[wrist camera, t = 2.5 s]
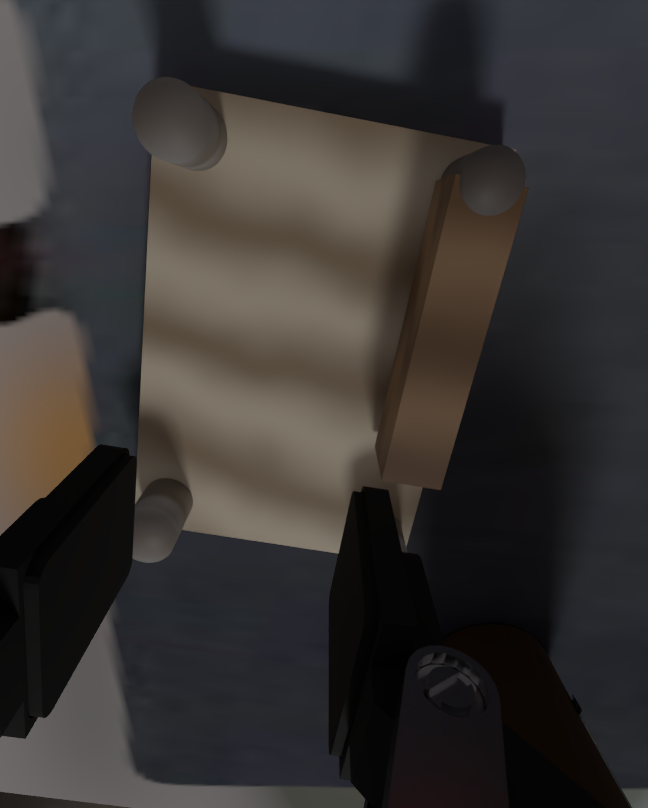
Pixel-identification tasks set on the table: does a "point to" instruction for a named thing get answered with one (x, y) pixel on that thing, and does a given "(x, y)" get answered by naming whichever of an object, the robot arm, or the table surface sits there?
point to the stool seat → (272, 313)
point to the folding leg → (449, 312)
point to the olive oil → (539, 705)
